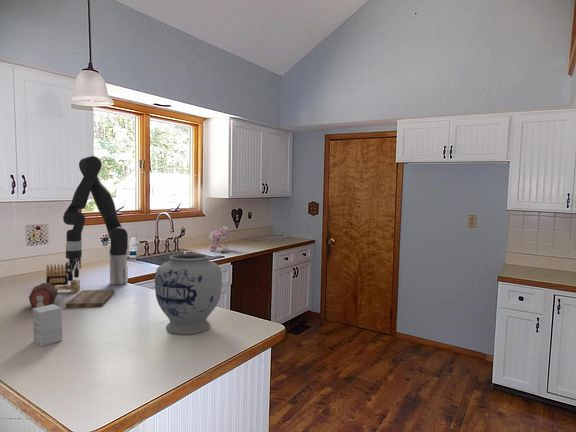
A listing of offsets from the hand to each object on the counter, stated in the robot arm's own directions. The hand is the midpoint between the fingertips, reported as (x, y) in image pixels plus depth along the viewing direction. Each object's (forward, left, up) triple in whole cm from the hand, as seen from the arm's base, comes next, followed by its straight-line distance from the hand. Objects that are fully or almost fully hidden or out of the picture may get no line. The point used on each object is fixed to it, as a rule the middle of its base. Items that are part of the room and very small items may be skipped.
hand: (73, 279), depth 211 cm
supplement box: (-14, +70, -7) cm, 72 cm away
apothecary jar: (-64, +61, -7) cm, 89 cm away
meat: (+5, +26, -7) cm, 27 cm away
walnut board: (-14, +17, -7) cm, 23 cm away
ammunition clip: (+14, -17, -7) cm, 23 cm away
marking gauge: (+3, 0, -7) cm, 7 cm away
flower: (-77, -126, -7) cm, 147 cm away
